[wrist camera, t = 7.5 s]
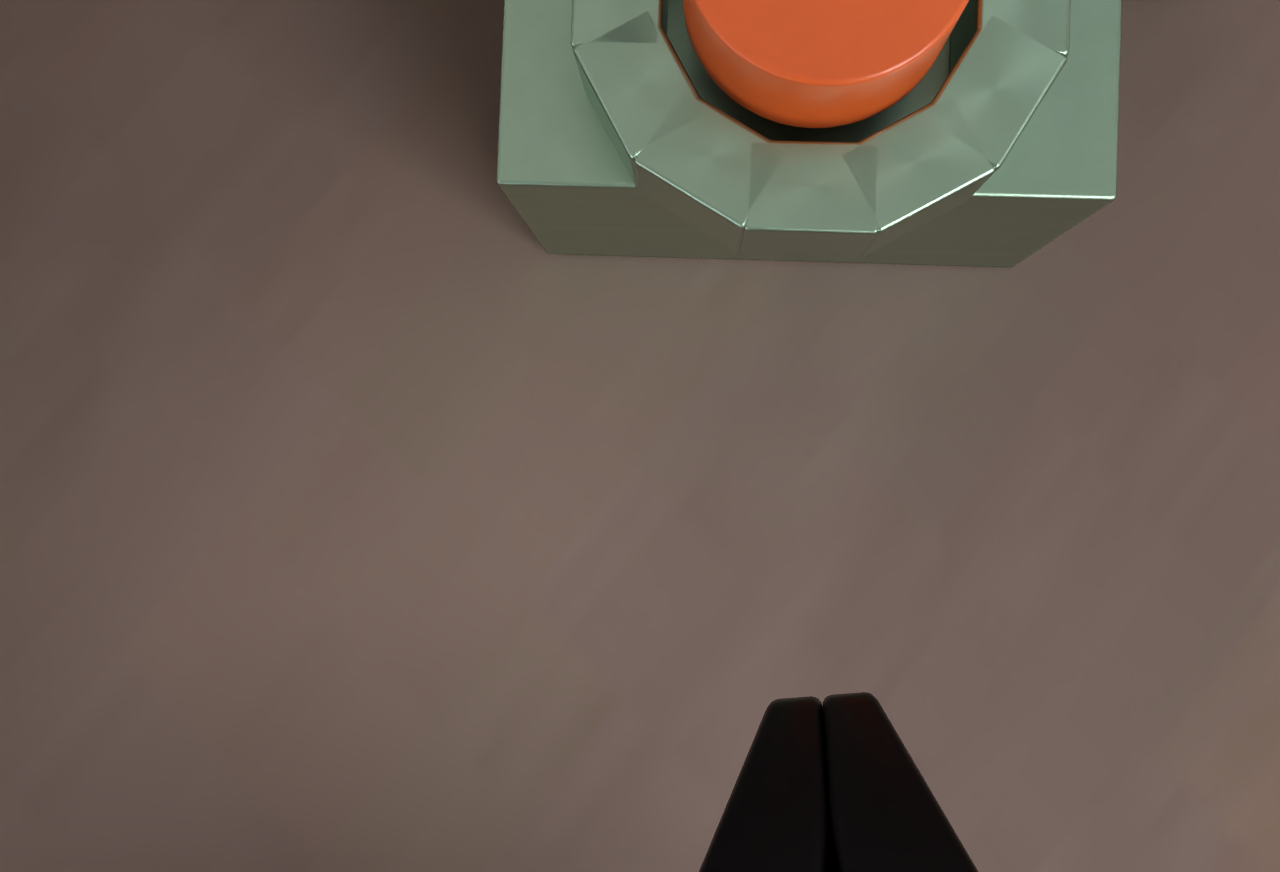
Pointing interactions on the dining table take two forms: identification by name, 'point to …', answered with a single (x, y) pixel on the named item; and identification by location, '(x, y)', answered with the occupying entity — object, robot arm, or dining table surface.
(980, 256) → the green button housing
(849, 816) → the robot arm
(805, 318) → the dining table surface
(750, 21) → the push button
